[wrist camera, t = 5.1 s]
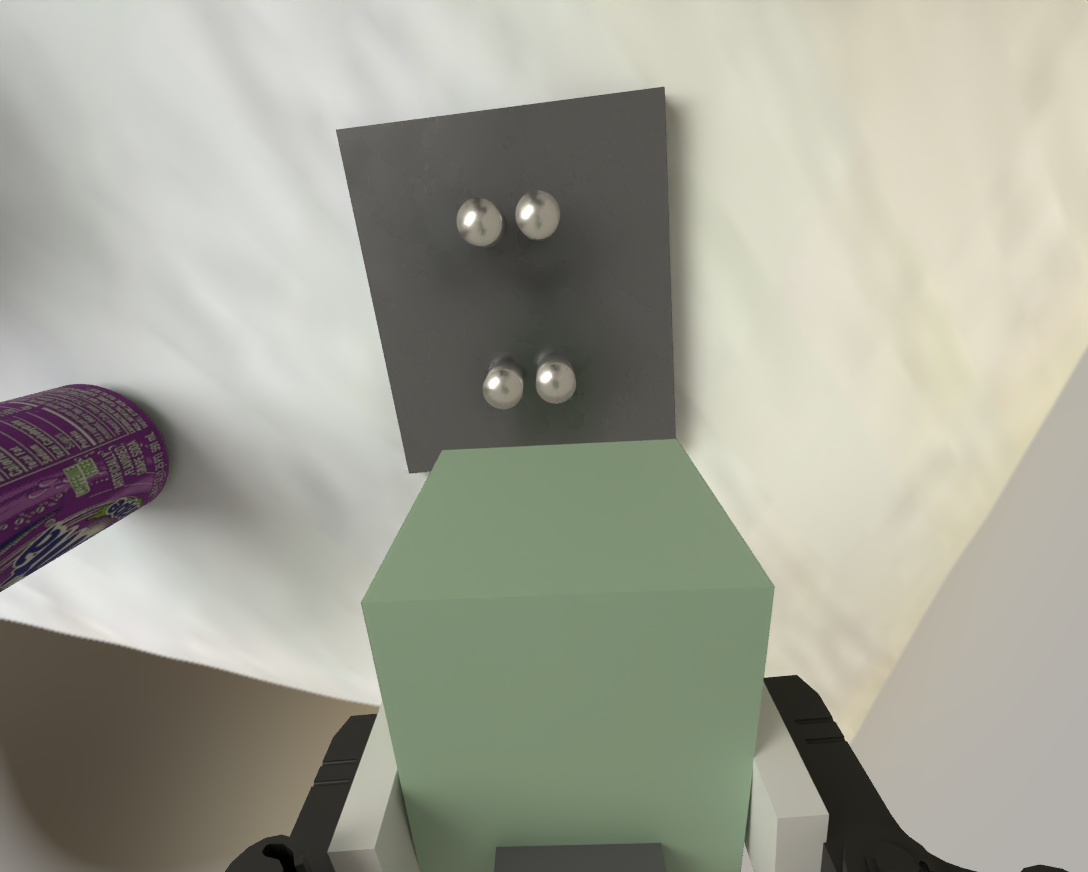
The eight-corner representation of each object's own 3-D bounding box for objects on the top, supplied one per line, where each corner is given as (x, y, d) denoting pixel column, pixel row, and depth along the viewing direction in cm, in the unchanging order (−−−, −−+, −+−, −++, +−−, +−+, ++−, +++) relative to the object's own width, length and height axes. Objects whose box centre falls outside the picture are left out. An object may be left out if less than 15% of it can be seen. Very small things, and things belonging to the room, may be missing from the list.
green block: (442, 450, 13) (345, 631, 7) (677, 438, 13) (793, 614, 7) (480, 735, 17) (439, 1027, 10) (666, 729, 16) (737, 1022, 10)
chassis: (344, 135, 23) (310, 113, 19) (659, 94, 22) (679, 64, 19) (413, 466, 28) (396, 493, 25) (671, 439, 27) (688, 463, 24)
